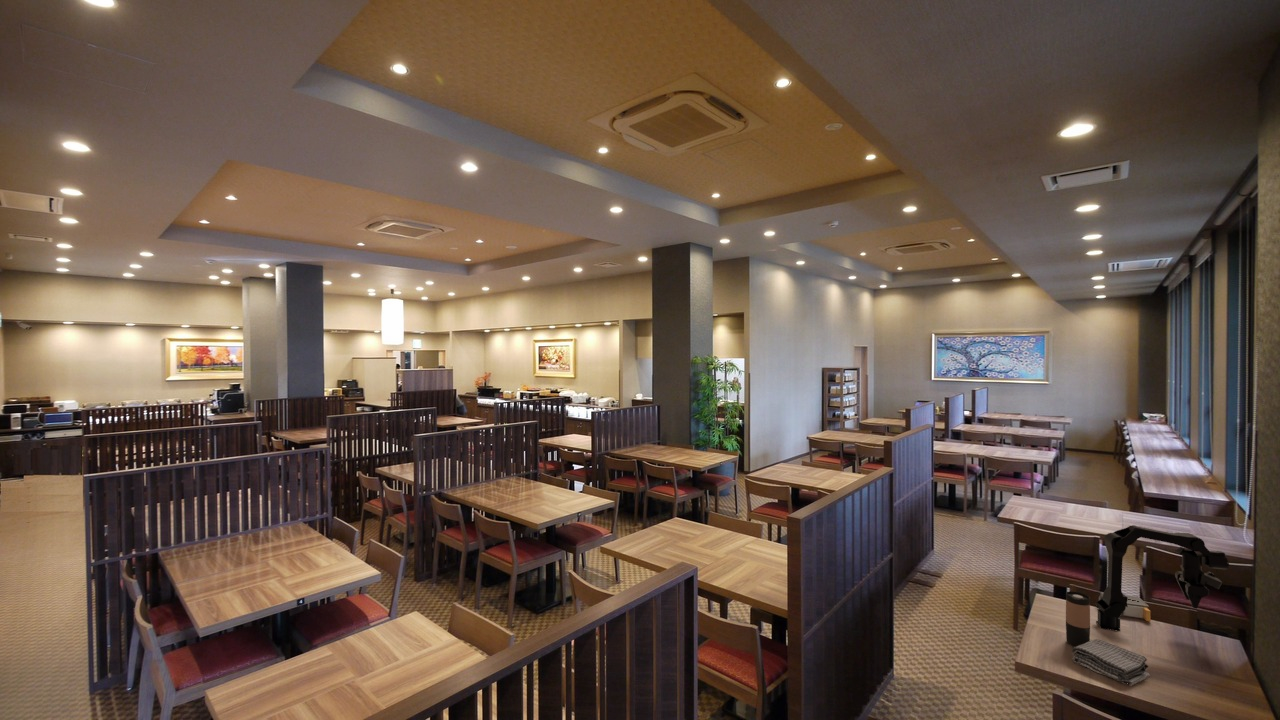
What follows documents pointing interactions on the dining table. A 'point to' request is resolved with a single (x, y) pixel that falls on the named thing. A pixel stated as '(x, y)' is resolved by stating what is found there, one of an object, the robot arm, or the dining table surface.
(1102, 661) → the towel
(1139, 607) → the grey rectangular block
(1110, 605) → the robot arm
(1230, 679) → the dining table surface
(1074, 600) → the travel mug
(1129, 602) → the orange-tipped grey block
